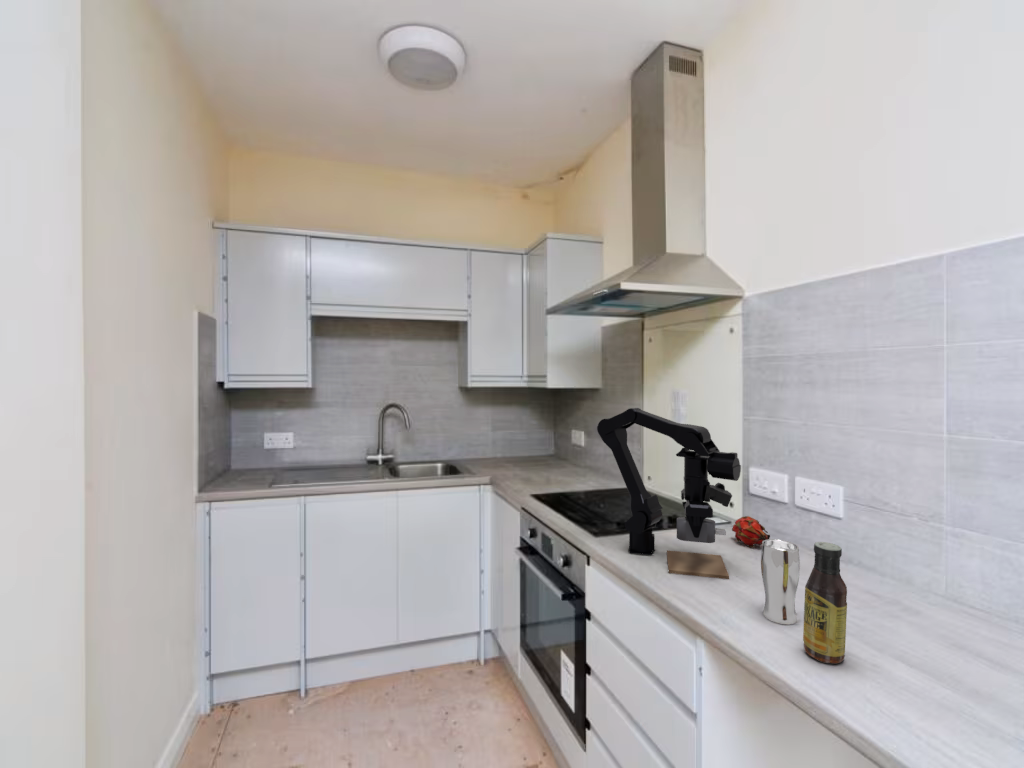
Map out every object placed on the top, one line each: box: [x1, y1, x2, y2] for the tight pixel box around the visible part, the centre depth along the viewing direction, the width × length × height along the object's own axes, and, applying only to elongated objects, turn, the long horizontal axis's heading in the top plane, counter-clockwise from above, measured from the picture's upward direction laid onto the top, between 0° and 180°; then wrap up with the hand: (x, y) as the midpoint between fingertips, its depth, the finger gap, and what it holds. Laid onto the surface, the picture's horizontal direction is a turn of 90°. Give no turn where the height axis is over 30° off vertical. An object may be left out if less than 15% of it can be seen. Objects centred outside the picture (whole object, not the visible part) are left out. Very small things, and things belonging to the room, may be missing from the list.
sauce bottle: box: [802, 541, 848, 665], centre depth 84 cm, size 6×6×20 cm
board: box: [666, 549, 730, 580], centre depth 125 cm, size 14×14×1 cm
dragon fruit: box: [731, 515, 771, 549], centre depth 140 cm, size 8×8×12 cm
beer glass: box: [760, 538, 801, 626], centre depth 98 cm, size 7×7×15 cm
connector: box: [676, 516, 727, 544], centre depth 124 cm, size 12×4×5 cm, turn 74°
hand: (695, 534), depth 125 cm, fingers closed on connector, 4 cm apart
